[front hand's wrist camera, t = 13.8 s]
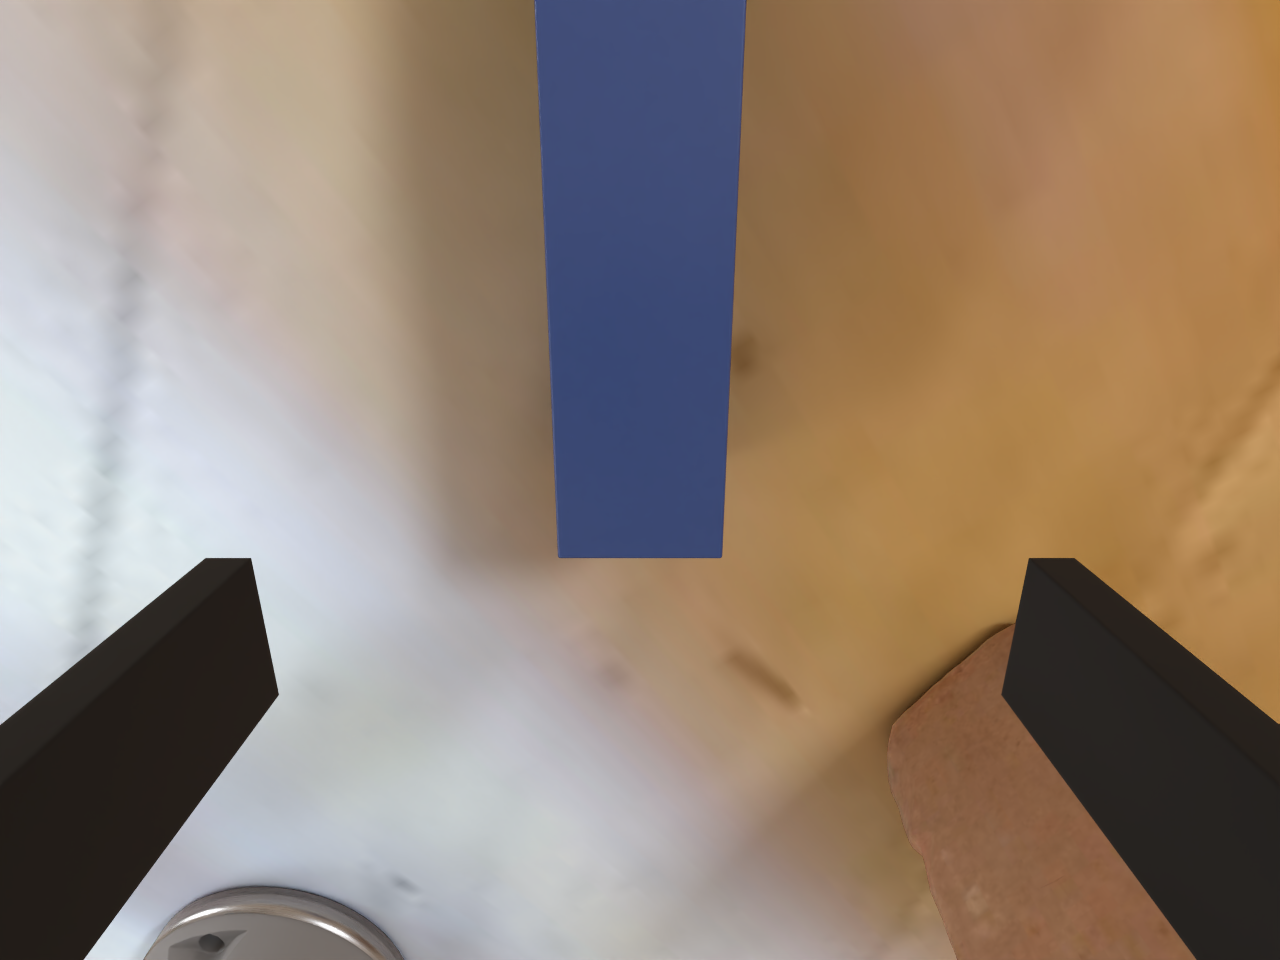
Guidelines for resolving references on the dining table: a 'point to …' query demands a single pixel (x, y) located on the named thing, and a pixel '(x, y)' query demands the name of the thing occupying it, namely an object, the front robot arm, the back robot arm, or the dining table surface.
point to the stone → (1011, 832)
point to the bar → (640, 267)
